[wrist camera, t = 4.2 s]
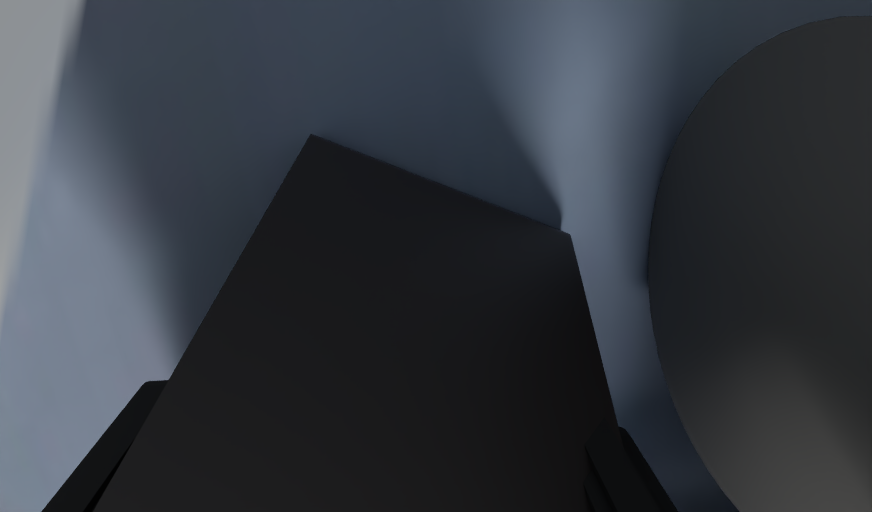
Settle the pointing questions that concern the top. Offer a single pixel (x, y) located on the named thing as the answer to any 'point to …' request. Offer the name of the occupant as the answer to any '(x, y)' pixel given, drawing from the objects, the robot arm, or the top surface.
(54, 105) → the top surface
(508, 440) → the phone stand
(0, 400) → the top surface
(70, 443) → the top surface
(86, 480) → the robot arm
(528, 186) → the top surface
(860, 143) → the trolley
